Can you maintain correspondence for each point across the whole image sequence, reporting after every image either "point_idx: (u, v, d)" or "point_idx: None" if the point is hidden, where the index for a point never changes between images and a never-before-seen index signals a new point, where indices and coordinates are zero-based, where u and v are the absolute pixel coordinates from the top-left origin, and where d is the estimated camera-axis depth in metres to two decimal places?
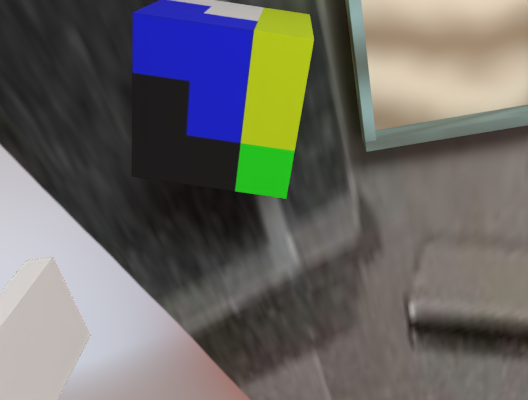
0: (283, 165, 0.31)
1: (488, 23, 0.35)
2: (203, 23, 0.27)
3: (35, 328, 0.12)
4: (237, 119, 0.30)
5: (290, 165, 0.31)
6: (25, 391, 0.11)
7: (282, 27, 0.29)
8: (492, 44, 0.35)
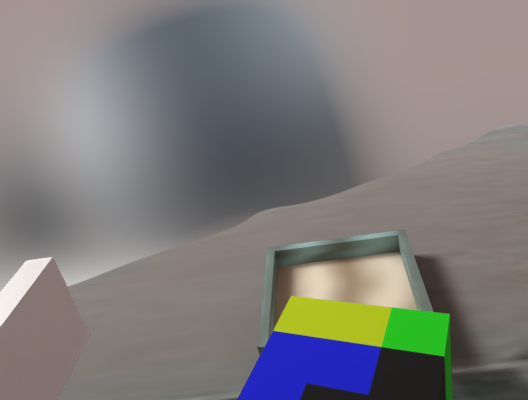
0: (408, 315, 0.30)
1: (338, 282, 0.47)
2: (255, 365, 0.28)
3: (35, 328, 0.12)
4: (353, 347, 0.28)
5: (408, 310, 0.30)
6: (25, 391, 0.11)
7: None
8: (353, 278, 0.47)
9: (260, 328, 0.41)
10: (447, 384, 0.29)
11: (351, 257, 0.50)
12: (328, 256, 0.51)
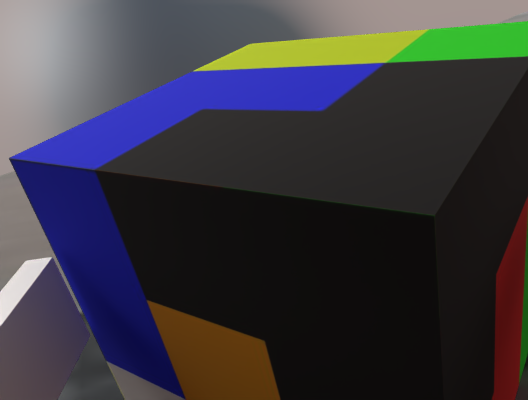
0: (462, 30, 0.14)
1: None
2: (130, 101, 0.14)
3: (35, 328, 0.12)
4: (326, 69, 0.13)
5: (463, 27, 0.14)
6: (25, 391, 0.11)
7: None
8: None
9: None
10: None
11: None
12: None
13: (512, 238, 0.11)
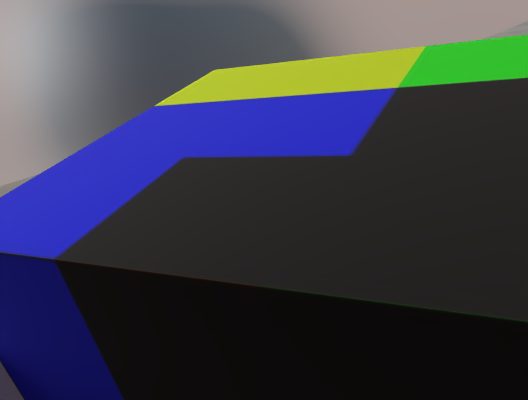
0: (468, 46, 0.12)
1: None
2: (84, 149, 0.12)
3: None
4: (325, 97, 0.11)
5: (466, 42, 0.12)
6: None
7: None
8: None
9: None
10: None
11: None
12: None
13: None
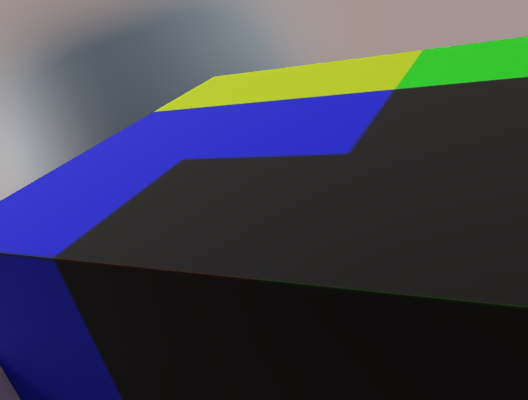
0: (464, 49, 0.12)
1: None
2: (84, 154, 0.12)
3: None
4: (323, 100, 0.11)
5: (463, 46, 0.13)
6: None
7: None
8: None
9: None
10: None
11: None
12: None
13: None
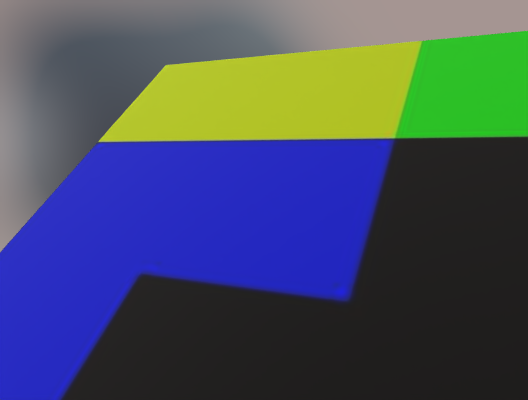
0: (475, 48, 0.10)
1: None
2: (20, 233, 0.10)
3: None
4: (306, 151, 0.09)
5: (472, 38, 0.10)
6: None
7: None
8: None
9: None
10: None
11: None
12: None
13: None
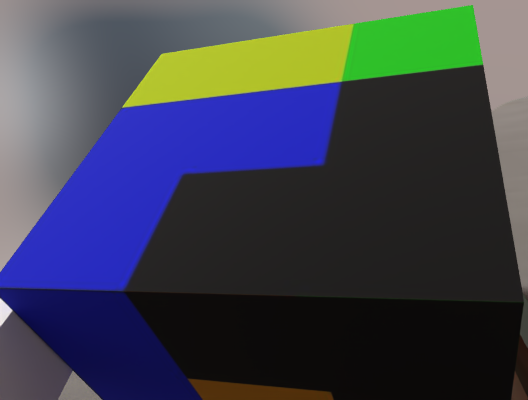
0: (389, 25, 0.14)
1: None
2: (79, 167, 0.13)
3: None
4: (283, 95, 0.13)
5: (387, 20, 0.15)
6: (25, 391, 0.11)
7: None
8: None
9: None
10: None
11: None
12: None
13: None
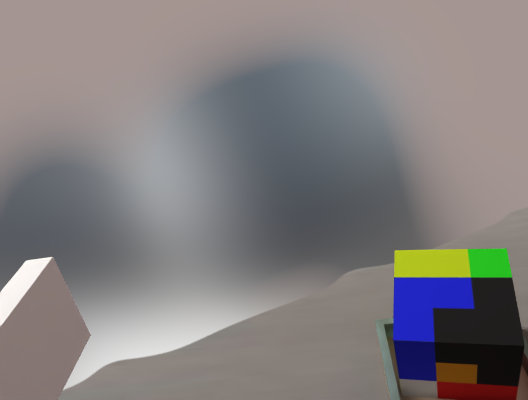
0: (480, 253, 0.46)
1: None
2: (394, 302, 0.45)
3: (35, 328, 0.12)
4: (453, 280, 0.45)
5: (479, 249, 0.46)
6: (25, 391, 0.11)
7: None
8: None
9: None
10: None
11: None
12: None
13: None
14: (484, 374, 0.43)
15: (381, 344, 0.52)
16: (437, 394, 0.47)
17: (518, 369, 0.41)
